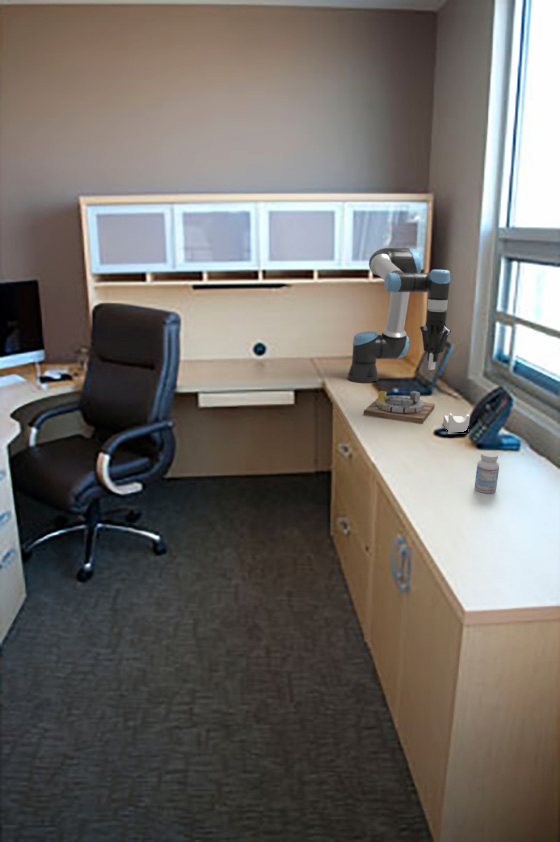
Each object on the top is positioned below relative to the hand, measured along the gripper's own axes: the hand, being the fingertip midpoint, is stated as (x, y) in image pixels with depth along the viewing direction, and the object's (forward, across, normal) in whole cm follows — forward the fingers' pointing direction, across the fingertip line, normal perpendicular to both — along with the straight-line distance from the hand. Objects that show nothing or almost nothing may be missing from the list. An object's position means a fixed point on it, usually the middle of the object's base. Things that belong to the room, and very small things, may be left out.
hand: (431, 369), depth 254 cm
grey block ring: (+16, +9, +7) cm, 20 cm away
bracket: (+19, -19, +9) cm, 28 cm away
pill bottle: (+19, -56, +53) cm, 80 cm away
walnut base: (+19, +9, +7) cm, 22 cm away
